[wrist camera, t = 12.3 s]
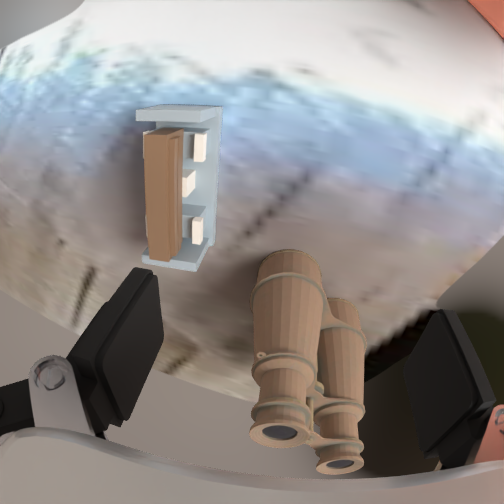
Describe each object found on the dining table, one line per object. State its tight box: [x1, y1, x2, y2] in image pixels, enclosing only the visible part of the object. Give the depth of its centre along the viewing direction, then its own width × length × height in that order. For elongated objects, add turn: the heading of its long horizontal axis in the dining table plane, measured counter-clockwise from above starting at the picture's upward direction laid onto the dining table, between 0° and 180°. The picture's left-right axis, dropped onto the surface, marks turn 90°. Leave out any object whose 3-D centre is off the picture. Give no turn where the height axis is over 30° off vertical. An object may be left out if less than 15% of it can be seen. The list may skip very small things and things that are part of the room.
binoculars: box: [249, 249, 367, 474], centre depth 36 cm, size 21×10×25 cm, turn 42°
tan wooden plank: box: [144, 127, 184, 262], centre depth 33 cm, size 14×3×5 cm, turn 175°
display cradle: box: [136, 104, 223, 272], centre depth 36 cm, size 18×8×8 cm, turn 175°
